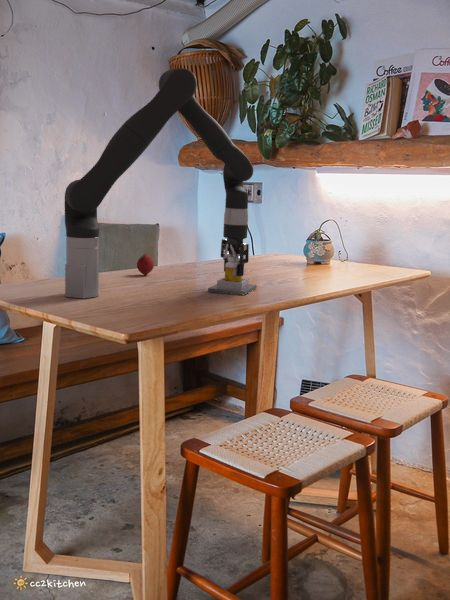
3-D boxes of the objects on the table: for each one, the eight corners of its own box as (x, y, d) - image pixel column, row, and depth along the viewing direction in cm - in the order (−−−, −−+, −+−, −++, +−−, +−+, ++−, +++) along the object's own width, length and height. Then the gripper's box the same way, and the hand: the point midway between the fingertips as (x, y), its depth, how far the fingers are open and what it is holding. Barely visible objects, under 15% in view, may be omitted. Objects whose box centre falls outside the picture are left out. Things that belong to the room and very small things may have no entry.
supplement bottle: (221, 285, 220) (223, 255, 218) (237, 284, 222) (238, 255, 220) (227, 288, 215) (229, 257, 213) (243, 287, 217) (245, 257, 215)
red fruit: (145, 277, 236) (145, 254, 235) (133, 275, 240) (133, 252, 238) (156, 275, 241) (157, 253, 239) (144, 273, 244) (145, 251, 243)
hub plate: (244, 295, 210) (245, 284, 210) (207, 291, 214) (208, 281, 213) (256, 288, 223) (257, 278, 223) (221, 285, 227) (222, 275, 226)
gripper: (257, 225, 210) (254, 277, 213) (235, 221, 222) (233, 270, 225) (235, 225, 207) (233, 277, 210) (215, 220, 219) (212, 270, 222)
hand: (233, 273), depth 217 cm, fingers open, 8 cm apart
